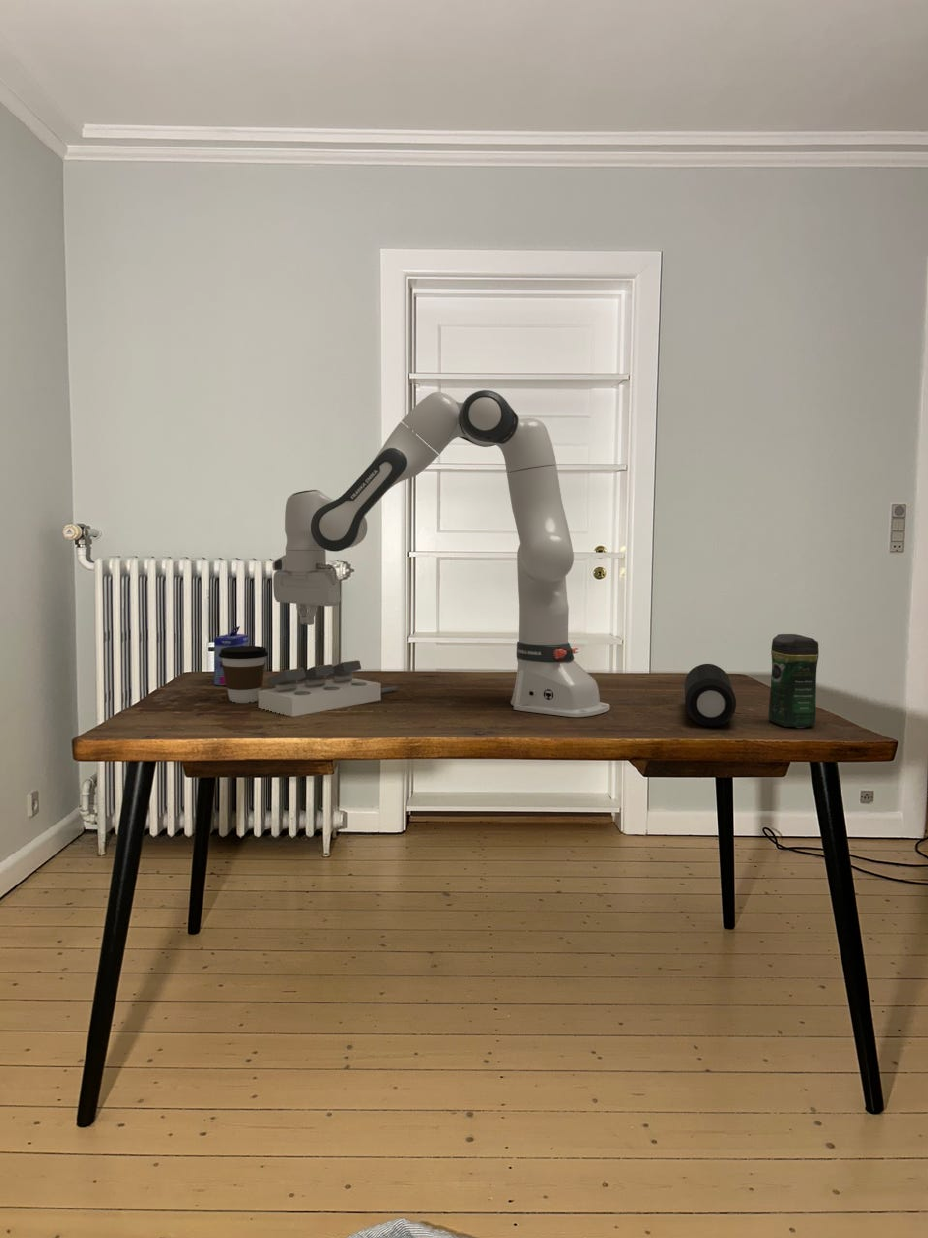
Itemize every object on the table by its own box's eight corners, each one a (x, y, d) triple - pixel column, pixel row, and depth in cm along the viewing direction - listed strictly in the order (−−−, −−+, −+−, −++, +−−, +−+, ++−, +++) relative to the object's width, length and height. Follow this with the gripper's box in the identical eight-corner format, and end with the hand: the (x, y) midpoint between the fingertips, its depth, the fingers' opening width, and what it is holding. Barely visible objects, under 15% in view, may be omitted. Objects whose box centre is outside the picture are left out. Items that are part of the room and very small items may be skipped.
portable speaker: (735, 731, 175) (737, 681, 174) (684, 728, 177) (686, 679, 176) (728, 706, 199) (730, 663, 198) (683, 704, 202) (685, 661, 201)
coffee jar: (821, 729, 177) (826, 637, 175) (783, 729, 176) (788, 637, 174) (798, 718, 186) (802, 631, 184) (762, 719, 186) (766, 631, 184)
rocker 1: (305, 677, 192) (303, 667, 192) (286, 679, 188) (284, 670, 189) (287, 684, 197) (285, 674, 197) (268, 687, 193) (266, 677, 193)
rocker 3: (361, 668, 204) (359, 659, 204) (344, 671, 200) (342, 662, 200) (343, 675, 208) (340, 666, 209) (326, 678, 205) (324, 669, 205)
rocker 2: (334, 673, 198) (332, 663, 198) (316, 675, 194) (314, 666, 194) (316, 679, 203) (314, 670, 203) (298, 682, 199) (296, 673, 199)
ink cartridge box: (234, 686, 219) (232, 629, 218) (213, 686, 220) (211, 628, 218) (250, 680, 229) (249, 624, 227) (229, 679, 230) (228, 624, 228)
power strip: (413, 694, 211) (413, 670, 210) (292, 716, 185) (291, 690, 184) (379, 687, 219) (379, 665, 218) (258, 708, 193) (258, 683, 192)
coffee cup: (266, 695, 208) (265, 644, 207) (271, 703, 198) (270, 651, 197) (218, 697, 205) (217, 646, 204) (221, 706, 195) (219, 652, 193)
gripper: (346, 563, 193) (347, 626, 195) (290, 561, 207) (291, 620, 208) (324, 564, 189) (325, 628, 190) (267, 562, 202) (269, 622, 204)
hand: (307, 624), depth 199 cm, fingers closed
